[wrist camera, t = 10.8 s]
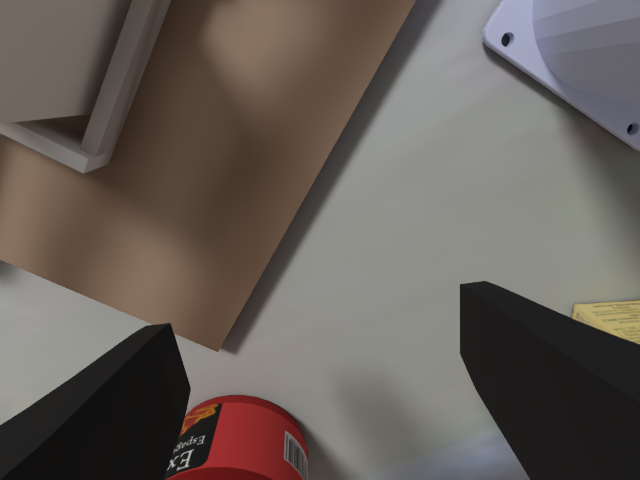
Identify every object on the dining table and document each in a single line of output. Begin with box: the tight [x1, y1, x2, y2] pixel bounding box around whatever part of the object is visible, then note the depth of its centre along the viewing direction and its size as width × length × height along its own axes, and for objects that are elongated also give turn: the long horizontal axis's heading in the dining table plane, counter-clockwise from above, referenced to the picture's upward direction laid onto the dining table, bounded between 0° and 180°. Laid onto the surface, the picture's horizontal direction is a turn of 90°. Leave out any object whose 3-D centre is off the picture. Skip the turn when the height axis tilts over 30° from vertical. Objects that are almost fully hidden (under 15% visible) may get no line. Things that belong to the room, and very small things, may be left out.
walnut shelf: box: [0, 0, 416, 352], centre depth 14 cm, size 15×26×4 cm, turn 151°
